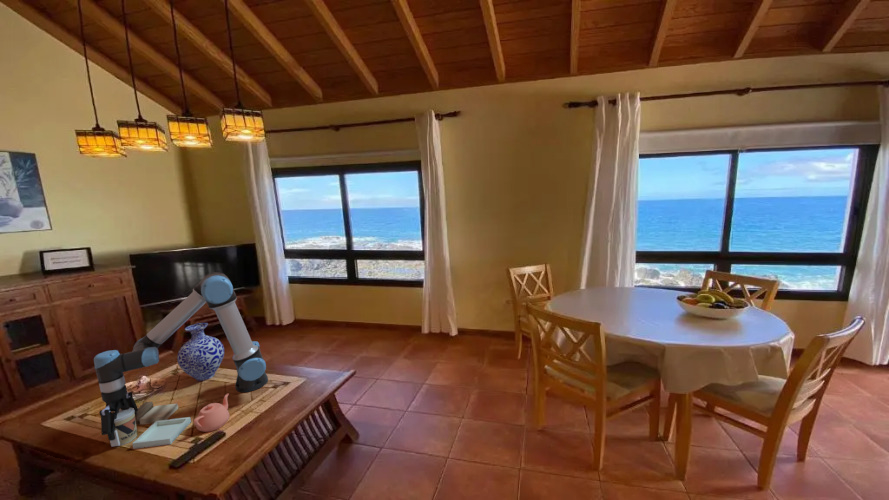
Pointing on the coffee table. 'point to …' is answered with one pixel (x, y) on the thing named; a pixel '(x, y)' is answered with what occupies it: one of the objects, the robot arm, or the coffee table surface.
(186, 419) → the tray
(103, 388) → the robot arm
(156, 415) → the grey wooden square slab
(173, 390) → the coffee table surface
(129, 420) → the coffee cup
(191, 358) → the vase
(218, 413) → the teapot
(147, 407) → the block
